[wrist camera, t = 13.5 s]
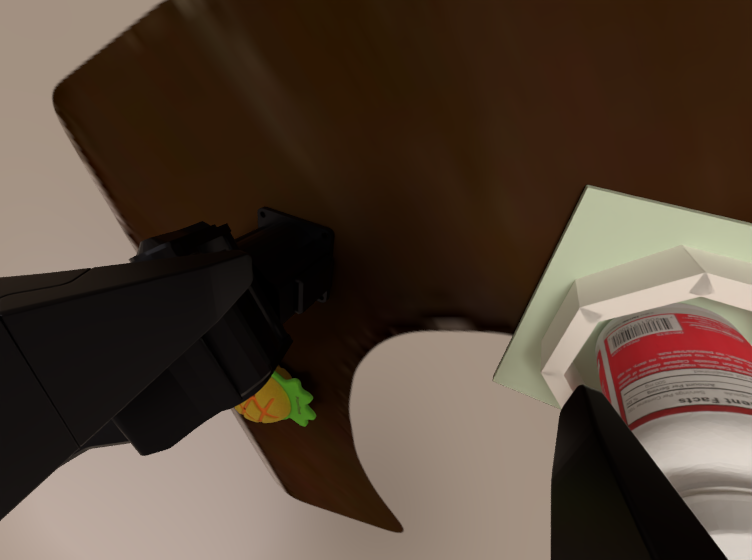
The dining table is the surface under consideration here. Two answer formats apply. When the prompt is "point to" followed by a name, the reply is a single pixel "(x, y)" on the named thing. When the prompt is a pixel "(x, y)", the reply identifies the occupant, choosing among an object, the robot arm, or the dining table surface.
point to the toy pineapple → (279, 401)
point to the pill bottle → (688, 409)
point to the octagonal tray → (623, 285)
